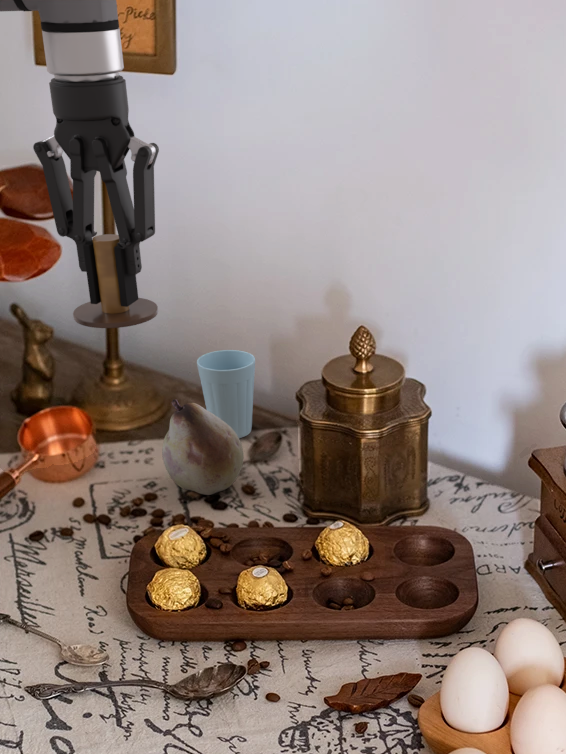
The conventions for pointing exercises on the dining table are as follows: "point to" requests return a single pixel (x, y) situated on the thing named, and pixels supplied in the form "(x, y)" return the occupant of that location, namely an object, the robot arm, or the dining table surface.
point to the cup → (229, 387)
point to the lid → (111, 293)
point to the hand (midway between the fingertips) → (114, 301)
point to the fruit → (201, 450)
